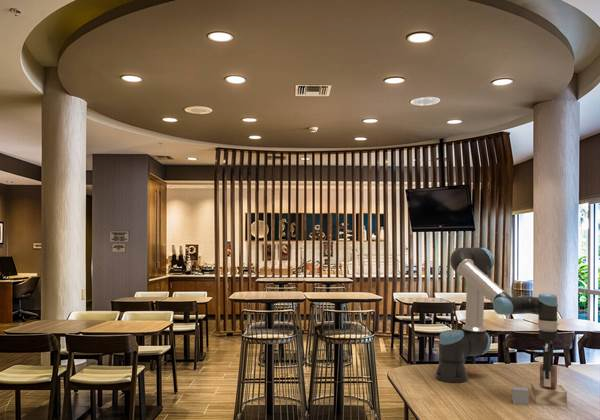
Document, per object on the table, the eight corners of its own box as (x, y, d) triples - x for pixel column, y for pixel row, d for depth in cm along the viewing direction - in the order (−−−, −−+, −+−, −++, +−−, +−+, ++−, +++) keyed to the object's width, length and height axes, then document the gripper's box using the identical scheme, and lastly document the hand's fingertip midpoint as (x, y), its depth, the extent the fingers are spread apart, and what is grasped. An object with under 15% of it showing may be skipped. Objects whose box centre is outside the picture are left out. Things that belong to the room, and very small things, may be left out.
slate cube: (513, 403, 238) (513, 389, 238) (511, 400, 244) (511, 385, 244) (528, 405, 236) (528, 390, 237) (526, 401, 242) (526, 387, 242)
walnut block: (539, 385, 242) (539, 366, 243) (541, 382, 247) (541, 364, 248) (555, 387, 239) (554, 368, 239) (556, 384, 244) (556, 366, 245)
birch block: (535, 404, 238) (535, 389, 239) (531, 396, 250) (531, 383, 250) (566, 406, 235) (566, 392, 236) (561, 399, 247) (560, 385, 247)
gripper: (554, 333, 234) (555, 390, 233) (560, 328, 251) (560, 381, 249) (535, 332, 238) (535, 388, 237) (541, 326, 254) (542, 379, 253)
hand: (548, 384), depth 243 cm, fingers closed on walnut block, 6 cm apart
